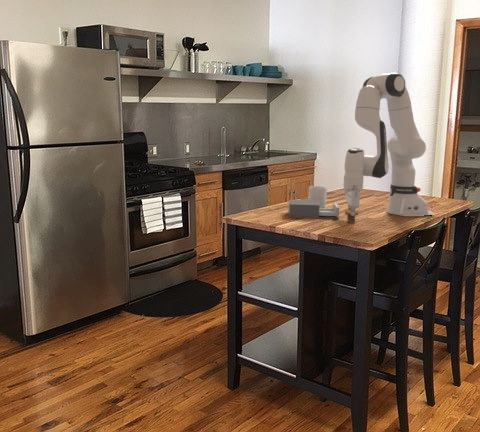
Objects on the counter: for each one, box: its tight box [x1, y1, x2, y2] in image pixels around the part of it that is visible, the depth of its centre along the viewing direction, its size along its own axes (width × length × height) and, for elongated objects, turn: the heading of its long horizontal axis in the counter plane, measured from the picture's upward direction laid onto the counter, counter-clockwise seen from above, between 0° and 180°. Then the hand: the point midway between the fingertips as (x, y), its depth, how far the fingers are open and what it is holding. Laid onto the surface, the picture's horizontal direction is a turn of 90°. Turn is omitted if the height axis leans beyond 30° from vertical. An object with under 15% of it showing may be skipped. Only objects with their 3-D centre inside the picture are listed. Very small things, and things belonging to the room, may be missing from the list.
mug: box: [307, 185, 328, 208], centre depth 281 cm, size 12×9×11 cm
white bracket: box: [319, 202, 340, 218], centre depth 261 cm, size 14×13×5 cm
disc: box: [344, 208, 359, 216], centre depth 250 cm, size 6×6×2 cm
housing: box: [288, 199, 339, 220], centre depth 262 cm, size 23×13×6 cm, turn 87°
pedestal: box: [346, 215, 356, 223], centre depth 250 cm, size 3×3×4 cm
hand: (351, 213), depth 250 cm, fingers closed on disc, 6 cm apart
